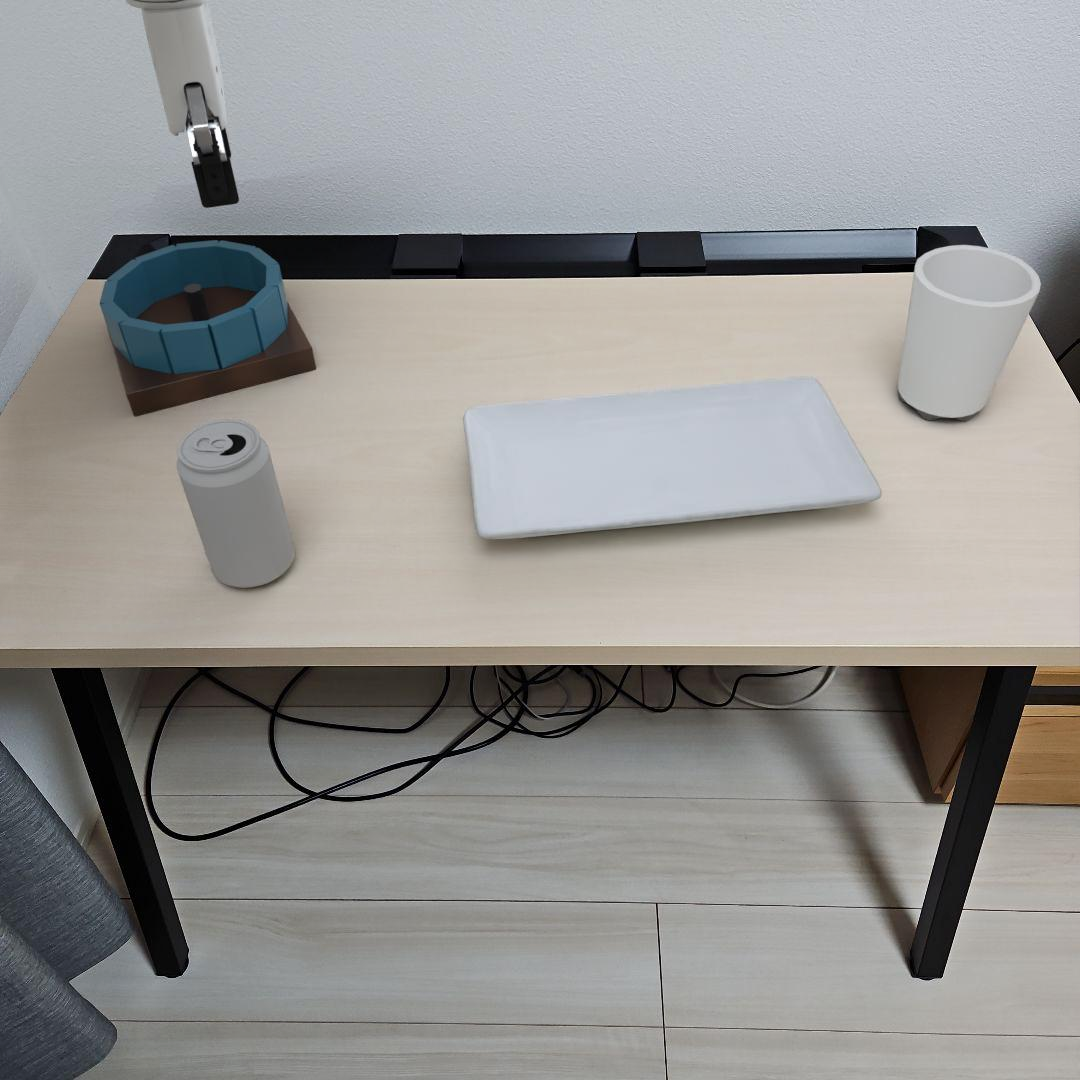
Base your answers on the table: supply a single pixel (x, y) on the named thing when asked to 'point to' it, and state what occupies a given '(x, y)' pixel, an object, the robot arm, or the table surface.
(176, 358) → the ring
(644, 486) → the tray
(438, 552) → the table surface
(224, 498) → the beverage can
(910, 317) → the cup
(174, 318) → the platform
